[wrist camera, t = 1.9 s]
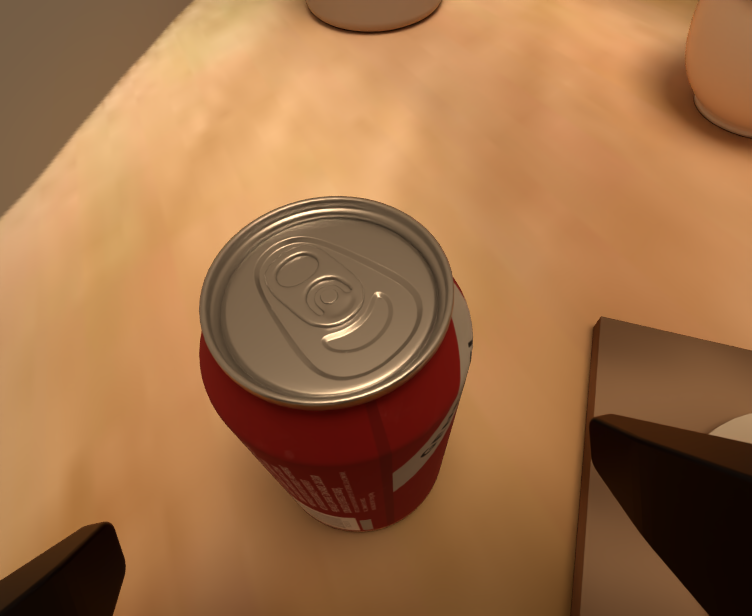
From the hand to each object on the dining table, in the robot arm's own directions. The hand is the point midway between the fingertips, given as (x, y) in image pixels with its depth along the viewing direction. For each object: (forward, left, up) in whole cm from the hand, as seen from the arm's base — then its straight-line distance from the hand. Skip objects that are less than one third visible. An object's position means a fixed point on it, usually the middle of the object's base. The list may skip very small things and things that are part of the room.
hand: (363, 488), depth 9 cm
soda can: (+4, +2, -11) cm, 12 cm away
